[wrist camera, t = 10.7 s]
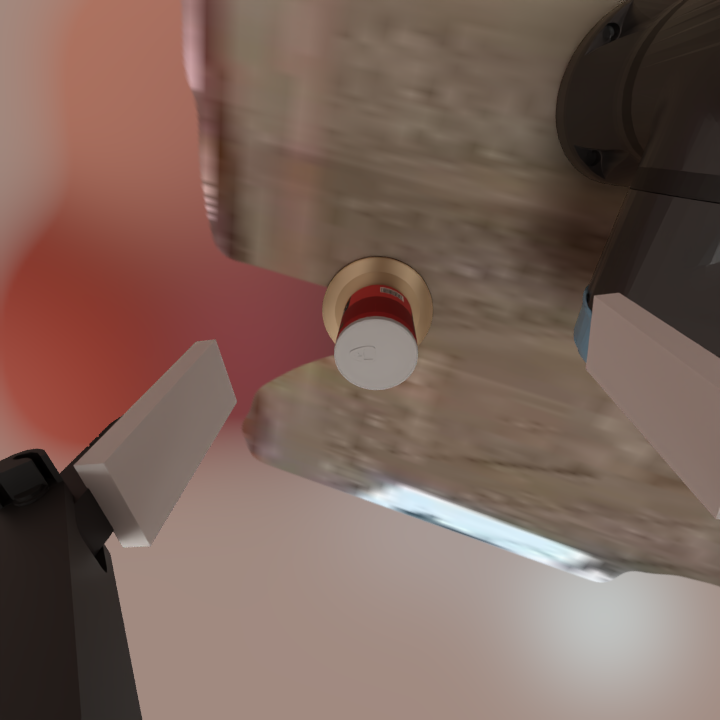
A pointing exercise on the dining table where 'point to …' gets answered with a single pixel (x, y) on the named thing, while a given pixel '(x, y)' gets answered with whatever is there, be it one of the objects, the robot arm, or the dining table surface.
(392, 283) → the disc
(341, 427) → the dining table surface
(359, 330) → the canned food
